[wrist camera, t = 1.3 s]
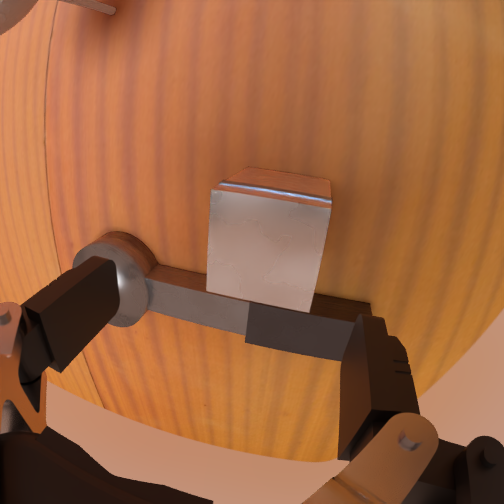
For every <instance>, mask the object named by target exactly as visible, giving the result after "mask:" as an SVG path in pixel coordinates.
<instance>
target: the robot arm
mask: <svg viewBox="0 0 504 504" xmlns="http://www.w3.org/2000/svg"><path fill="white" fill-rule="evenodd" d="M119 305H120V295H119V287H118V278H117V269H116V264H115V262H114V261H113V260H110V259H107V258H103V257H99V256H92V257H90V258H89V259H87V260H86V261H84V262H83V263H82V264H80V265H79V266H77V267H76V268H73V269H71V270H68V271H66V272H65V273H63V274H62V275H61V276H59V277H58V278H57V280H56V279H55V280H54V281H52V282H51V283H50V284H49V286H48V285H47V286H46V287H44V288H43V289H41V290H40V291H39V292H37V293H36V294H35V295H33V296H32V297H31V298H30V299H28V300H27V301H26V302H24V303H23V304H22V305H20V306H19V305H18V304H17V303H14V302H4V303H0V504H213V501H212V500H208V499H205V498H201V497H198V496H195V495H191V494H188V493H185V492H182V491H179V490H176V489H173V488H171V487H168V486H165V485H159V484H153V483H147V482H141V481H136V480H131V479H126V478H122V477H117V476H114V475H112V474H111V473H109V472H108V471H107V470H106V469H105V468H103V467H102V466H101V465H100V464H98V462H96V461H95V460H94V459H93V458H92V457H90V455H89V454H88V453H86V452H85V451H84V450H83V449H82V448H81V447H80V446H79V445H77V444H76V443H74V442H72V441H71V440H69V439H67V438H66V437H64V436H62V435H60V434H59V433H57V432H56V431H54V430H53V429H51V428H50V427H48V426H47V424H46V387H47V375H46V372H45V369H46V368H47V367H48V366H49V367H51V368H52V369H54V370H56V371H58V372H60V373H61V372H62V371H63V370H64V369H65V368H66V367H67V366H68V365H69V364H70V363H71V361H72V360H73V359H74V358H75V357H76V356H77V355H78V354H79V353H80V352H81V351H82V350H83V348H84V347H85V346H86V345H87V344H88V343H89V342H90V341H91V340H92V339H93V338H94V337H95V336H96V335H97V334H98V333H99V332H100V330H101V329H102V328H103V327H104V326H105V325H106V324H107V323H108V322H109V321H110V320H111V319H112V318H113V317H114V316H115V315H116V313H117V311H118V309H119ZM408 362H409V361H408V357H407V353H406V349H405V347H404V346H403V345H402V343H401V342H400V341H399V340H398V338H397V337H395V336H389V335H388V333H387V329H386V324H385V320H384V318H382V317H376V316H370V315H364V314H359V315H358V317H357V319H356V322H355V325H354V327H353V330H352V333H351V336H350V338H349V341H348V344H347V346H346V349H345V352H344V355H343V358H342V363H341V370H340V420H339V442H338V460H347V461H350V463H349V464H348V465H347V466H346V467H345V468H344V469H343V470H342V471H341V472H340V473H339V474H338V475H337V476H336V477H333V478H331V479H330V480H329V481H328V482H326V483H325V484H324V485H323V486H322V487H321V488H319V489H318V490H317V491H316V492H315V493H314V494H313V495H311V496H310V497H309V498H308V499H307V500H305V501H304V502H303V503H302V504H504V447H503V445H502V444H501V443H500V442H499V441H497V440H496V439H494V438H492V437H489V436H480V437H477V438H475V439H474V440H473V441H471V443H470V444H469V445H468V446H467V447H464V446H461V445H458V444H454V443H451V442H448V441H444V440H442V439H439V438H438V434H437V431H436V429H435V427H434V426H433V425H432V423H431V422H430V421H429V420H427V419H426V418H424V417H423V416H421V415H420V411H419V406H418V401H417V396H416V391H415V387H414V382H413V378H412V375H411V369H410V365H409V364H408Z"/></svg>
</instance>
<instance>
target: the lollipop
mask: <svg viewBox="0 0 504 504" xmlns="http://www.w3.org/2000/svg"><path fill="white" fill-rule="evenodd" d="M37 1H38V0H0V35H2V34H3V33H5V32H6V31H8V30H9V29H11V28H12V27H13V26H15V25H16V24H17V23H18V22H20V21H21V20H22V19H23V18H24V17H25V16H26V15H27V14H28V13H29V11H30V10H31V9H32V8H33V7H34V5H35V4H36V3H37ZM59 1H63V2H67V3H71V4H75V5H79V6H82V7H86V8H90V9H93V10H96V11H100V12H103V13H106V14H109V15H113V14H114V13H115V12H116V8H115V7H112V6H109V5H107V4H104V3H101V2H98V1H95V0H59Z"/></svg>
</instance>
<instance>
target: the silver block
mask: <svg viewBox="0 0 504 504" xmlns="http://www.w3.org/2000/svg"><path fill="white" fill-rule="evenodd" d="M331 206H332V197H331V191H330V180H328V179H322V178H317V177H311V176H305V175H299V174H293V173H287V172H281V171H274V170H267V169H260V168H253V167H247V168H245V169H244V170H242V171H240V172H239V173H237V174H235V175H234V176H232V177H230V178H229V179H227V180H223V181H221V182H219V185H217V186H216V187H214V188H212V189H211V198H210V215H209V235H208V257H207V285H206V291H209V292H213V293H217V294H222V295H226V296H231V297H235V298H240V299H244V300H249V301H254V302H258V303H263V304H268V305H273V306H278V307H283V308H288V309H293V310H298V311H303V312H308V313H309V311H310V307H311V303H312V299H313V294H314V290H315V286H316V281H317V277H318V273H319V268H320V264H321V259H322V254H323V250H324V245H325V240H326V235H327V230H328V225H329V220H330V215H331Z"/></svg>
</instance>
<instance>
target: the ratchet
mask: <svg viewBox="0 0 504 504" xmlns="http://www.w3.org/2000/svg"><path fill="white" fill-rule="evenodd" d="M92 256H99V257H103V258H107V259H110V260H113V261H114V262H115V264H116V269H117V278H118V287H119V295H120V305H119V309H118V311H117V313H116V315H115V316H114V317H113V318H112V319H111V320H110V321H109V322H108V324H111V325H113V326H117V327H129V326H132V325H134V324H135V323H136V322H138V321H139V319H140V318H141V317H142V316H143V315H144V314H145V313H146V311H147V310H151V311H154V312H157V313H161V314H164V315H168V316H171V317H175V318H179V319H182V320H186V321H190V322H193V323H197V324H201V325H205V326H209V327H213V328H217V329H221V330H225V331H229V332H233V333H237V334H242V335H246V337H245V343H250V344H254V345H259V346H263V347H268V348H272V349H277V350H282V351H287V352H292V353H297V354H302V355H307V356H313V357H318V358H324V359H330V360H336V361H342V358H343V355H344V352H345V349H346V346H347V344H348V341H349V338H350V336H351V333H352V330H353V327H354V325H355V322H356V319H357V317H358V315H359V314H364V315H370V316H372V312H371V306H370V304H369V303H364V302H358V301H353V300H347V299H342V298H336V297H331V296H326V295H320V294H315V293H314V294H313V299H312V303H311V307H310V311H309V313H308V312H303V311H298V310H293V309H288V308H283V307H278V306H273V305H268V304H263V303H258V302H254V301H249V300H244V299H240V298H235V297H231V296H226V295H222V294H217V293H213V292H209V291H206V285H207V275H204V274H199V273H195V272H190V271H186V270H181V269H177V268H173V267H168V266H164V265H159V264H158V263H157V261H156V259H155V257H154V255H153V254H152V253H151V251H150V250H149V249H148V248H147V246H146V245H145V244H144V243H142V242H141V241H140V240H139V239H137V238H136V237H134V236H132V235H130V234H128V233H124V232H119V231H116V232H110V233H107V234H105V235H104V236H102V237H100V238H99V239H97V240H95V241H94V242H92V243H91V244H89V245H87V246H86V247H84V248H83V249H81V250H80V251H79V252H78V253H77V255H76V256H75V258H74V261H73V267H72V269H73V268H76V267H77V266H79V265H80V264H82V263H83V262H84V261H86V260H87V259H89V258H90V257H92Z"/></svg>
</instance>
